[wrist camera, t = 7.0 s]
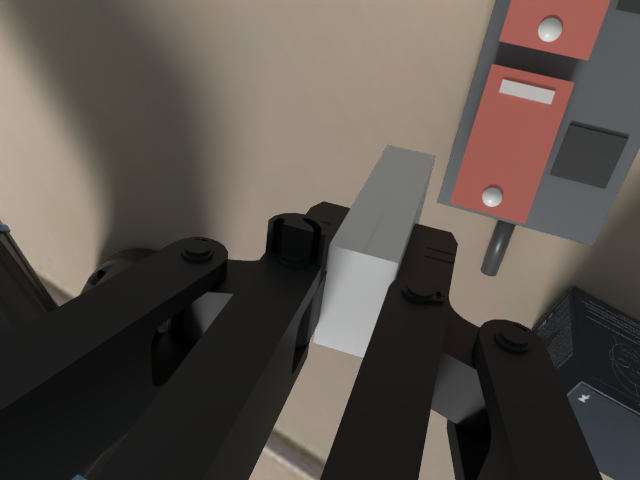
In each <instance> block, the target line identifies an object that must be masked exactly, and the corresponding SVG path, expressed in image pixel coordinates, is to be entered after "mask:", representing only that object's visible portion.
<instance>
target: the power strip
mask: <svg viewBox="0 0 640 480" xmlns="http://www.w3.org/2000/svg"><path fill="white" fill-rule="evenodd" d="M510 3H511V0H496V1H495V5H494V8H493V12H492V15H491V19H490V22H489V25H488V29H487V32H486V36H485V39H484V43H483V46H482V49H481V53H480V56H479V60H478V63H477V67H476V70H475V74H474V77H473V80H472V84H471V87H470V91H469V94H468V98H467V101H466V104H465V108H464V111H463V115H462V118H461V122H460V125H459V129H458V132H457V135H456V139H455V142H454V146H453V149H452V153H451V156H450V159H449V163H448V166H447V170H446V173H445V177H444V180H443V184H442V187H441V190H440V194H439V197H438V201H437V203H441V204H444V205H448V206H452V207H455V208H459V209H462V210H466V211H469V212H473V213H477V214H480V215H484V216H487V217H491V218H494V219H498V223H497V226H496V228H495V231H494V234H493V237H492V239H491V242H490V245H489V248H488V250H487V253H486V256H485V259H484V261H483V264H482V267H481V272H482V273H484V274H485V275H488V276H496V274H497V272H498V269H499V267H500V264H501V261H502V259H503V256H504V254H505V251H506V248H507V246H508V243H509V241H510V238H511V235H512V233H513V230H514V228H515V225H519V226H523V227H526V228H530V229H533V230H537V231H541V232H544V233H548V234H551V235H555V236H558V237H562V238H566V239H569V240H573V241H576V242H580V243H583V244H587V245H590V246H593V244H594V242H595V240H596V238H597V236H598V234H599V232H600V230H601V228H602V226H603V223H604V221H605V219H606V217H607V215H608V213H609V211H610V209H611V207H612V205H613V203H614V200H615V198H616V196H617V194H618V192H619V190H620V188H621V186H622V184H623V182H624V180H625V178H626V175H627V173H628V171H629V169H630V167H631V165H632V163H633V161H634V159H635V157H636V155H637V152H638V150H639V148H640V0H610V3H609V6H608V9H607V11H606V14H605V17H604V19H603V22H602V25H601V27H600V30H599V33H598V36H597V38H596V41H595V44H594V46H593V49H592V52H591V54H590V57H589V60H588V61H587V60H583V59H578V58H574V57H569V56H564V55H560V54H555V53H551V52H546V51H542V50H537V49H533V48H528V47H523V46H519V45H514V44H510V43H505V42H501V41H499V39H500V35H501V32H502V29H503V26H504V22H505V19H506V16H507V13H508V9H509V6H510ZM492 64H495V65H500V66H504V67H508V68H513V69H517V70H521V71H526V72H530V73H535V74H539V75H543V76H548V77H552V78H557V79H561V80H565V81H570V82H574V86H573V89H572V92H571V95H570V98H569V101H568V103H567V106H566V109H565V112H564V115H563V118H562V120H561V123H560V126H559V129H558V132H557V135H556V138H555V140H554V143H553V146H552V149H551V152H550V155H549V157H548V160H547V163H546V166H545V169H544V172H543V175H542V177H541V180H540V183H539V186H538V189H537V192H536V194H535V197H534V200H533V203H532V206H531V209H530V212H529V214H528V217H527V220H526V223H525V224H523V223H519V222H516V221H512V220H509V219H505V218H502V217H498V216H494V215H491V214H487V213H484V212H480V211H477V210H473V209H469V208H466V207H462V206H459V205H455V204H452V203H450V200H451V196H452V193H453V190H454V187H455V183H456V180H457V177H458V173H459V170H460V167H461V164H462V160H463V157H464V154H465V151H466V147H467V144H468V141H469V137H470V134H471V131H472V128H473V124H474V121H475V118H476V115H477V111H478V108H479V105H480V101H481V98H482V95H483V92H484V88H485V85H486V82H487V79H488V75H489V72H490V69H491V65H492Z"/></svg>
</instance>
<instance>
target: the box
mask: <svg viewBox="0 0 640 480" xmlns="http://www.w3.org/2000/svg"><path fill="white" fill-rule="evenodd" d="M532 331H533V332H534V333H536V334H537V335H538V336H539V337H540V338H541V340H542V341H543V342H544V344H545V345H546V348H547V350H548V352H549V355H550V357H551V360H552V362H553V364H554V367H555V369H556V371H557V374H558V376H559V378H560V381H561V383H562V385H563V388H564V390H565V392H566V395H567V397H568V400H569V402H570V404H571V407H572V409H573V411H574V414H575V416H576V418H577V421H578V423H579V425H580V428H581V430H582V433H583V435H584V437H585V440H586V442H587V444H588V447H589V449H590V451H591V454H592V456H593V458H594V461H595V463H596V465H597V468H598V470H599V471H600V472H601V473H603V474H605V475H607V476H609V477H611V478H612V479H614V480H640V322H638V321H637V320H635V319H633V318H631V317H629V316H627V315H625V314H624V313H622V312H620V311H618V310H616V309H614V308H613V307H611V306H609V305H607V304H605V303H603V302H601V301H600V300H598V299H596V298H594V297H592V296H590V295H588V294H587V293H585V292H583V291H581V290H579V289H577V288H575V287H571V288H570V289H569V291H568V292H567V293H566V294H565V295H564V296H563V297H562V298H561V299H560V300H559V301H558V303H556V304H555V306H554V307H553V308H552V309H551V310H550V311H549V312H548V313H547V314H546V316H545V317H544V318H543V319H542V320H541V321H540V322H539V323H538V324H537V325H536V327H535V328H534V329H532Z"/></svg>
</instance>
